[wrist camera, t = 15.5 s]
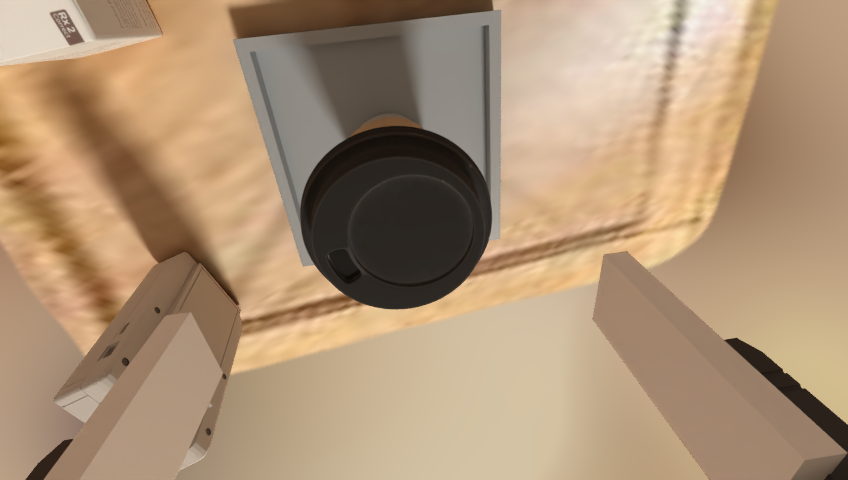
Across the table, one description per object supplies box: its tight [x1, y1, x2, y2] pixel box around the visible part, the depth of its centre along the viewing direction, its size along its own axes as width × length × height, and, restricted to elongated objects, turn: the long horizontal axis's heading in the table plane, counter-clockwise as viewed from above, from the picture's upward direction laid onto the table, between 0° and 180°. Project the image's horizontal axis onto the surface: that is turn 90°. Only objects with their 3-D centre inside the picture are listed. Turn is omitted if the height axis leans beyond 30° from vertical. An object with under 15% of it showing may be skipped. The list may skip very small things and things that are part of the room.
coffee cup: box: [300, 113, 492, 309], centre depth 24 cm, size 9×9×15 cm
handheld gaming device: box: [54, 252, 242, 470], centre depth 29 cm, size 9×15×4 cm
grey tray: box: [233, 10, 501, 266], centre depth 30 cm, size 18×18×2 cm
